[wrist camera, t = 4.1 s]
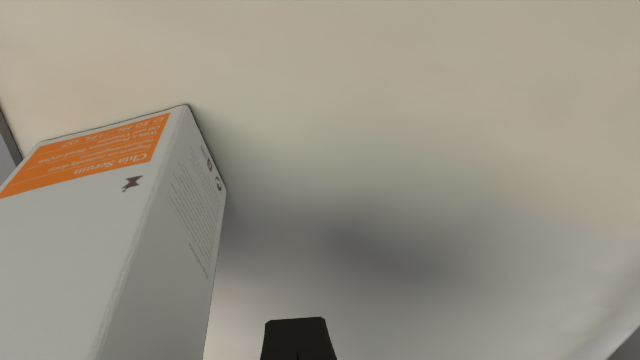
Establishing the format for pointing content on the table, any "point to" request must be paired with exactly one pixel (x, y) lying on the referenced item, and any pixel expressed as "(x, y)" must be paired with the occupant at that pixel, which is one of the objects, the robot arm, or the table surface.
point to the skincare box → (111, 244)
